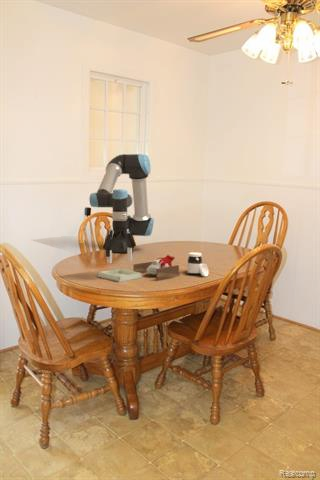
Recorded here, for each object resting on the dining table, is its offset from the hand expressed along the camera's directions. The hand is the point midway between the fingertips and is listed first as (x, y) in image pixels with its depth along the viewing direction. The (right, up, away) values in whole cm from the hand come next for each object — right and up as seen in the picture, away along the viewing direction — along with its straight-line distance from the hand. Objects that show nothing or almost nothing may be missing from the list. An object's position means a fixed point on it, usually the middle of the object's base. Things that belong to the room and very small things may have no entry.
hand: (119, 261), depth 213 cm
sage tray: (0, -8, +1) cm, 8 cm away
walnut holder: (+19, -8, +6) cm, 21 cm away
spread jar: (+41, -8, +10) cm, 43 cm away
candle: (+17, -9, +5) cm, 20 cm away
